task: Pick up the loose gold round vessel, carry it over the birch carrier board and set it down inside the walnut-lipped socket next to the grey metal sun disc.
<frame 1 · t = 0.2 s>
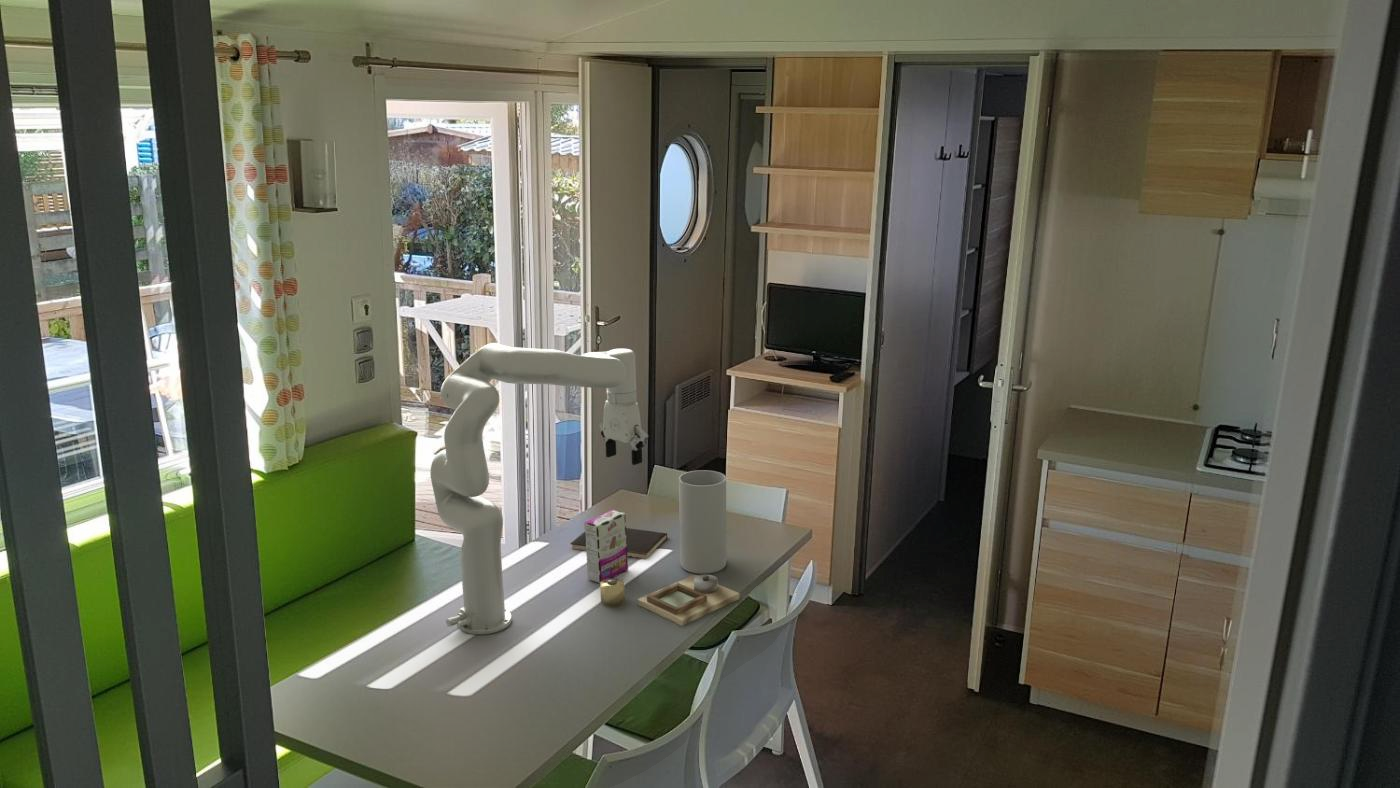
hand: (624, 459, 270), 31 cm above the table, fingers open, 9 cm apart
hardcover book: (619, 545, 295), on the table
carrier: (688, 601, 258), on the table
cylinder vase: (703, 565, 279), on the table
gold round vessel: (612, 601, 259), on the table
candy bar box: (607, 575, 274), on the table
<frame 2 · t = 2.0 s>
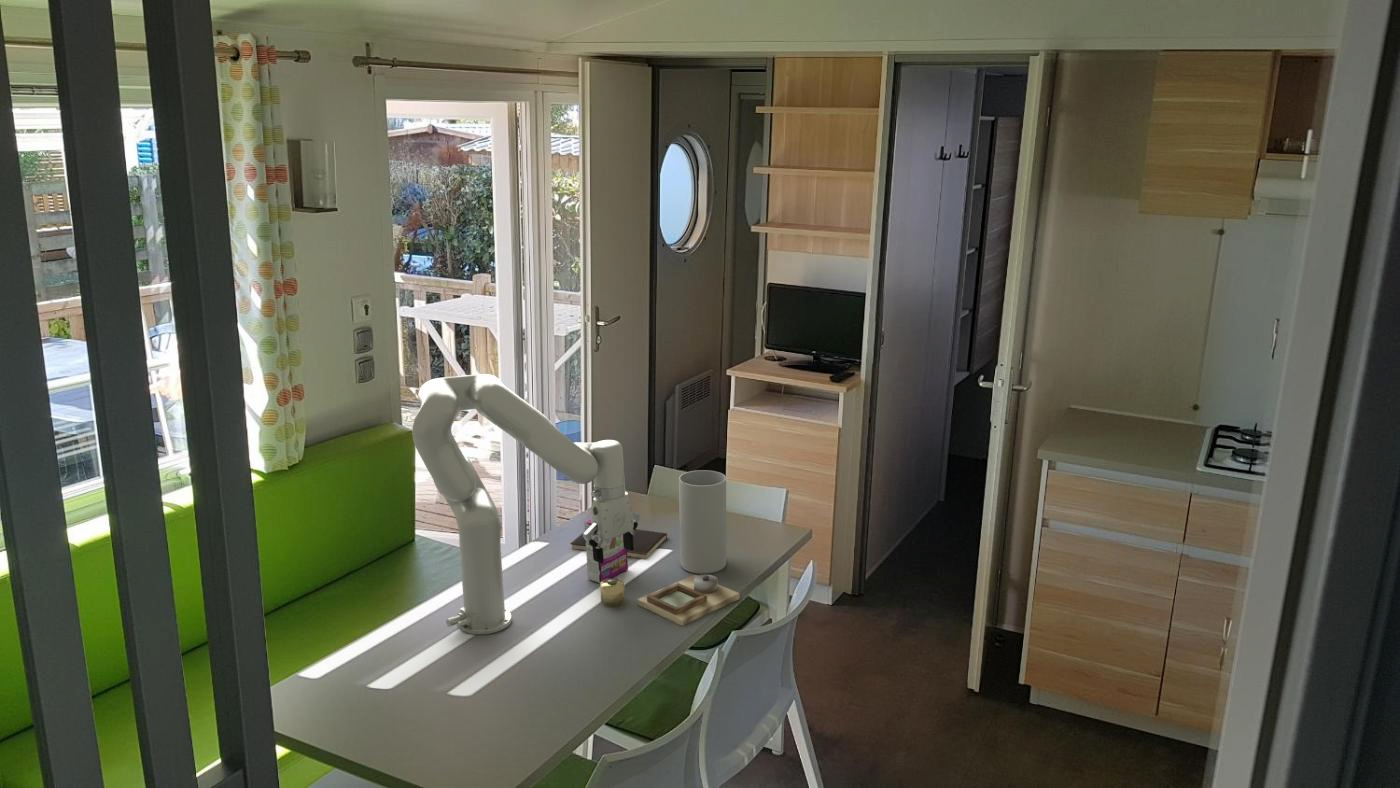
hand: (613, 555, 256), 12 cm above the table, fingers open, 9 cm apart
nothing on the table moved.
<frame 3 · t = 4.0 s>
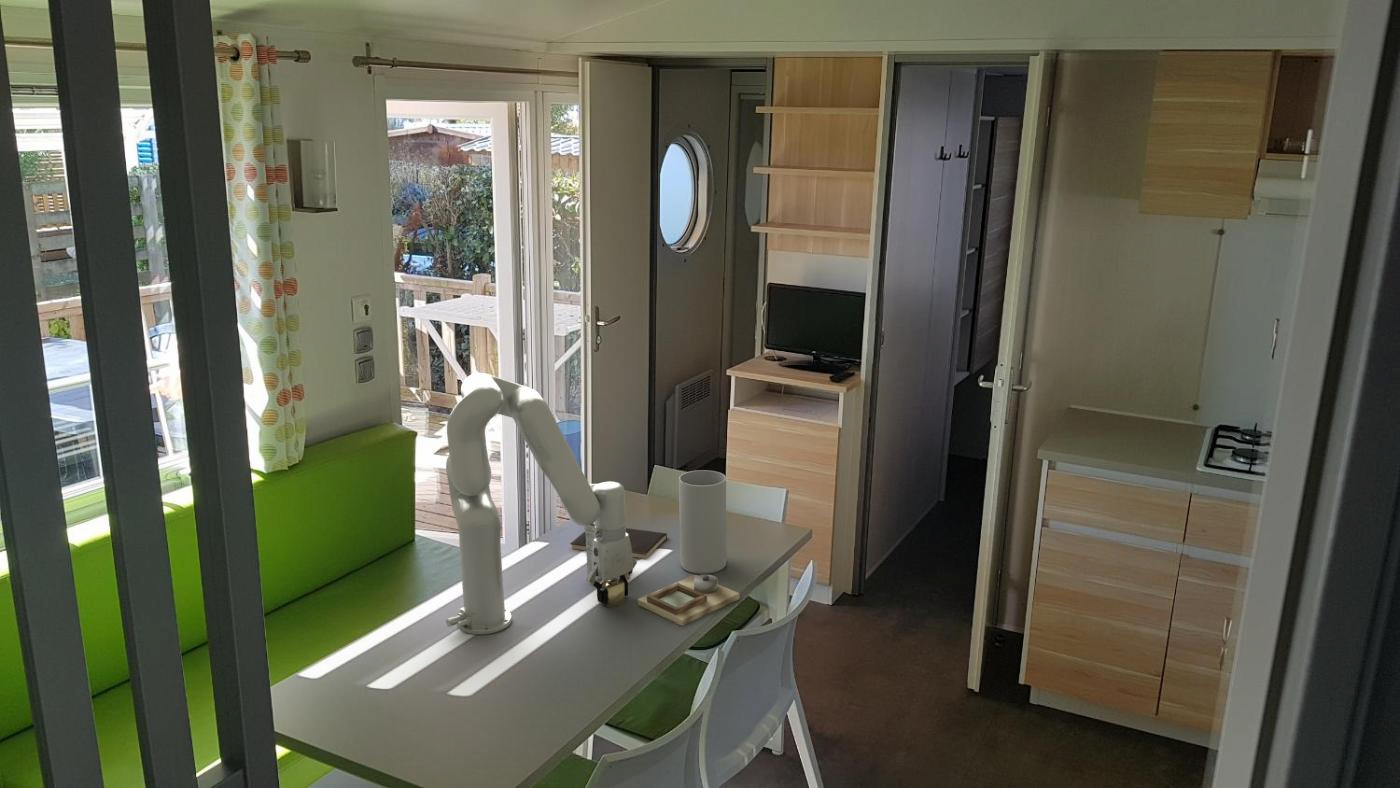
hand: (612, 598, 259), 1 cm above the table, fingers closed on gold round vessel, 6 cm apart
gold round vessel: (613, 601, 259), on the table, touching gripper
everything else where it was.
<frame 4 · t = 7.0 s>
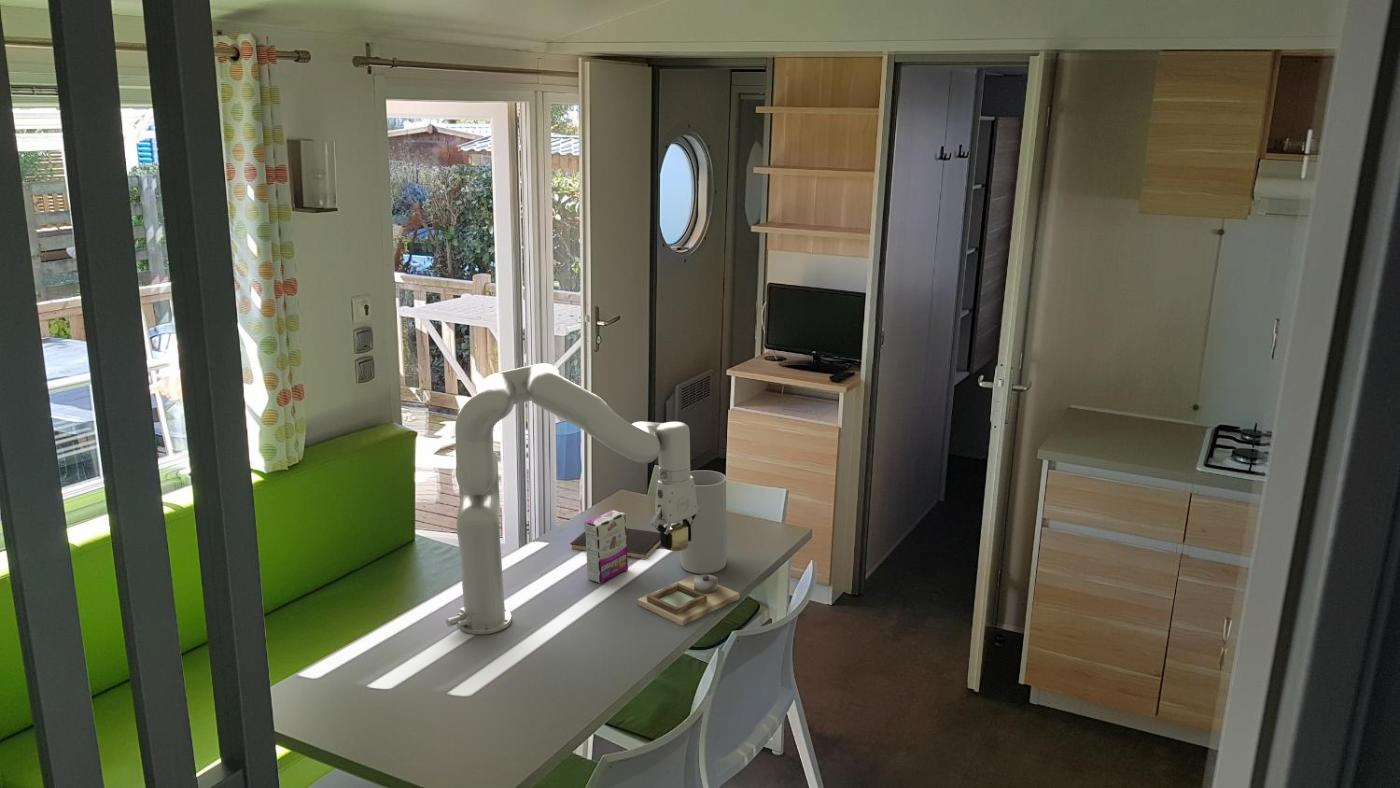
hand: (676, 542, 251), 17 cm above the table, fingers closed on gold round vessel, 6 cm apart
gold round vessel: (676, 546, 251), point 16 cm above the table, touching gripper
everything else where it was.
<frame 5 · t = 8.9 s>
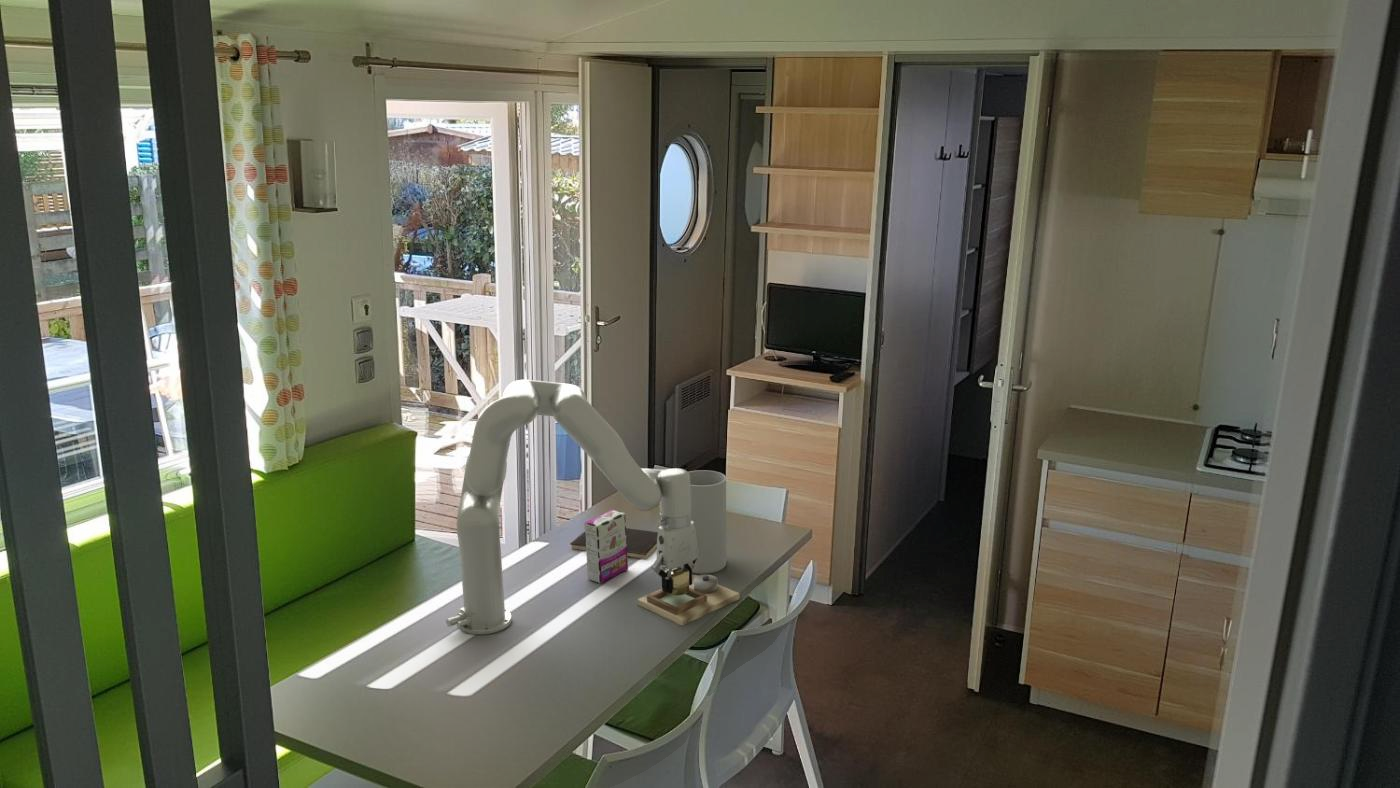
hand: (677, 587, 254), 5 cm above the table, fingers closed on gold round vessel, 6 cm apart
gold round vessel: (677, 590, 254), point 5 cm above the table, touching gripper
everything else where it was.
when the fingers open (4 cm above the table, at t = 10.2 s): gold round vessel drops 1 cm, resting on carrier.
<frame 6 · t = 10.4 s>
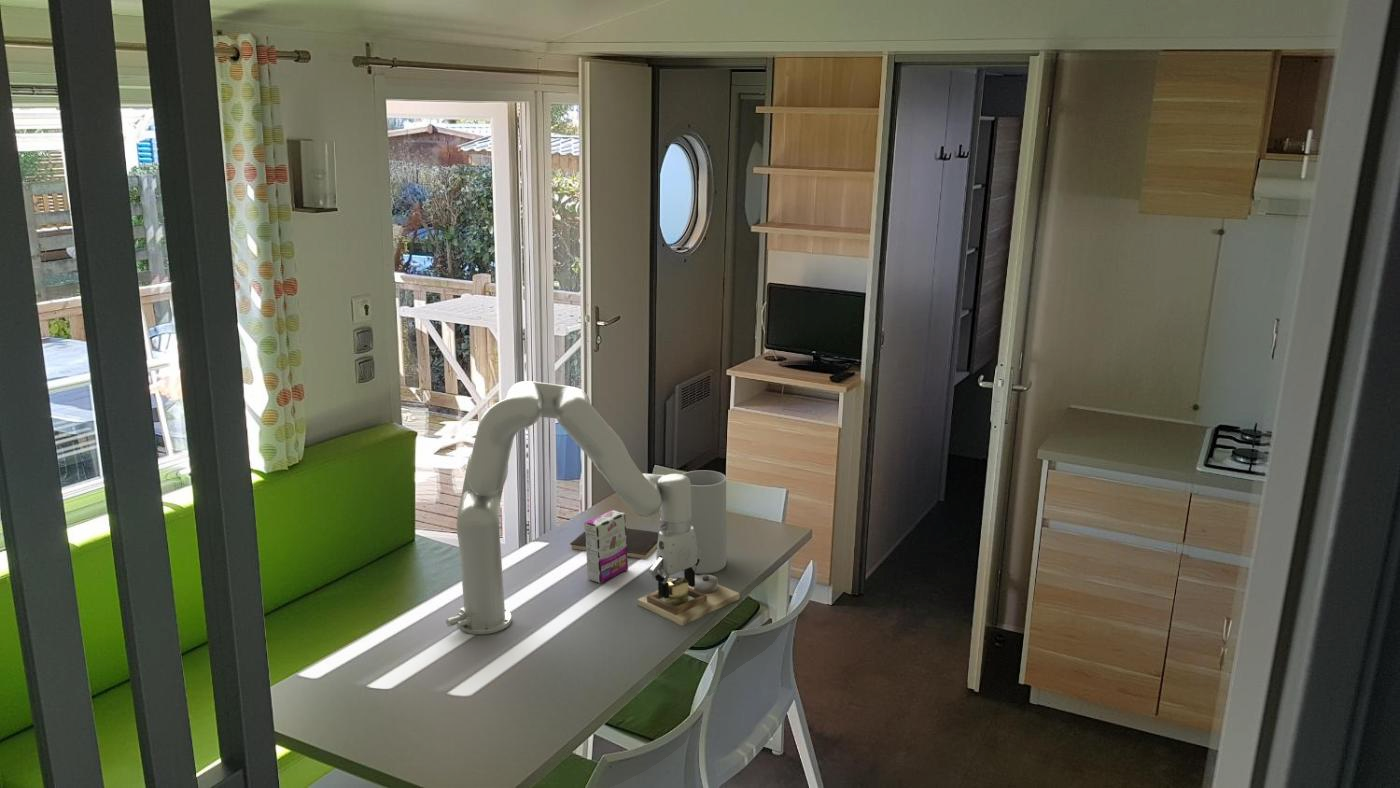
hand: (676, 590, 254), 4 cm above the table, fingers open, 8 cm apart
gold round vessel: (676, 600, 255), point 2 cm above the table, touching carrier
everything else where it was.
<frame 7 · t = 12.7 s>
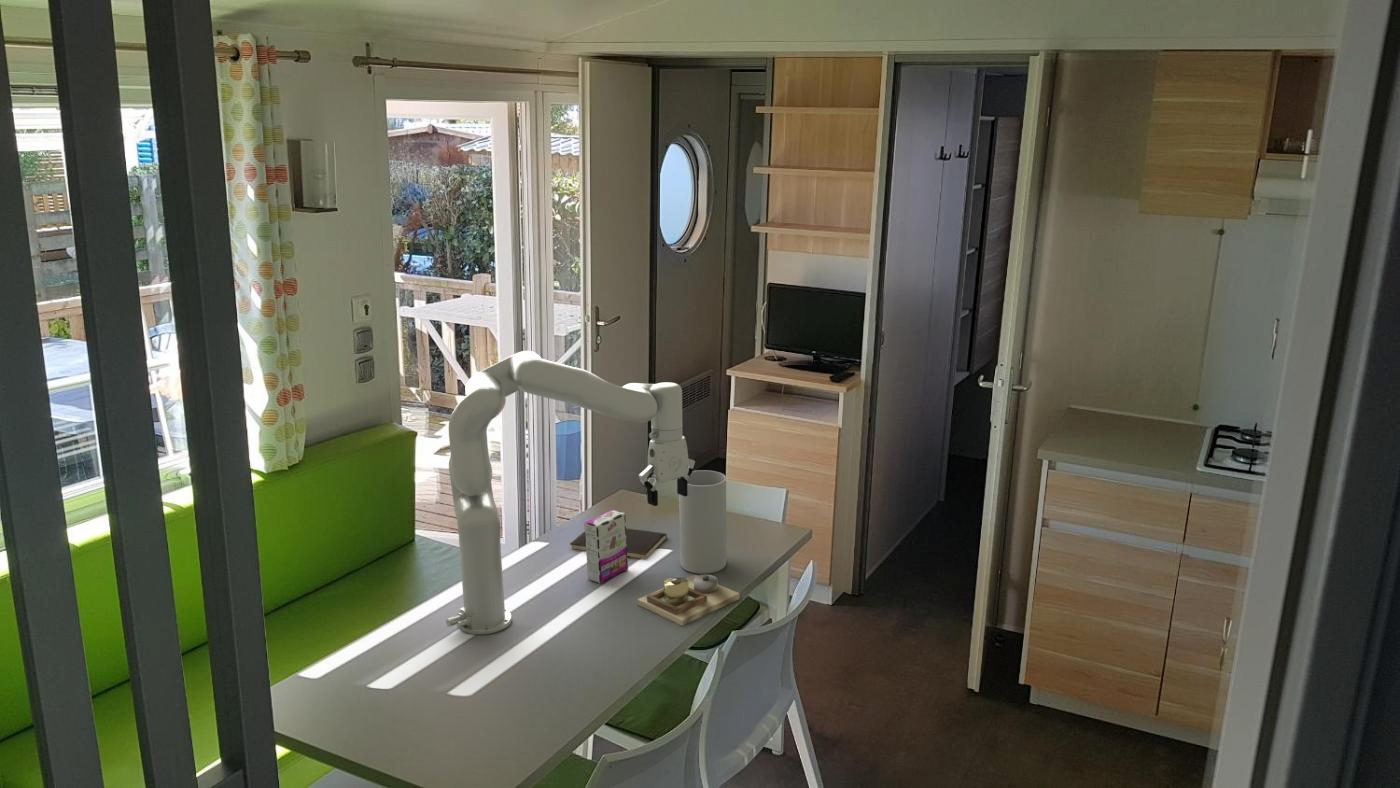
hand: (667, 499, 255), 26 cm above the table, fingers open, 9 cm apart
nothing on the table moved.
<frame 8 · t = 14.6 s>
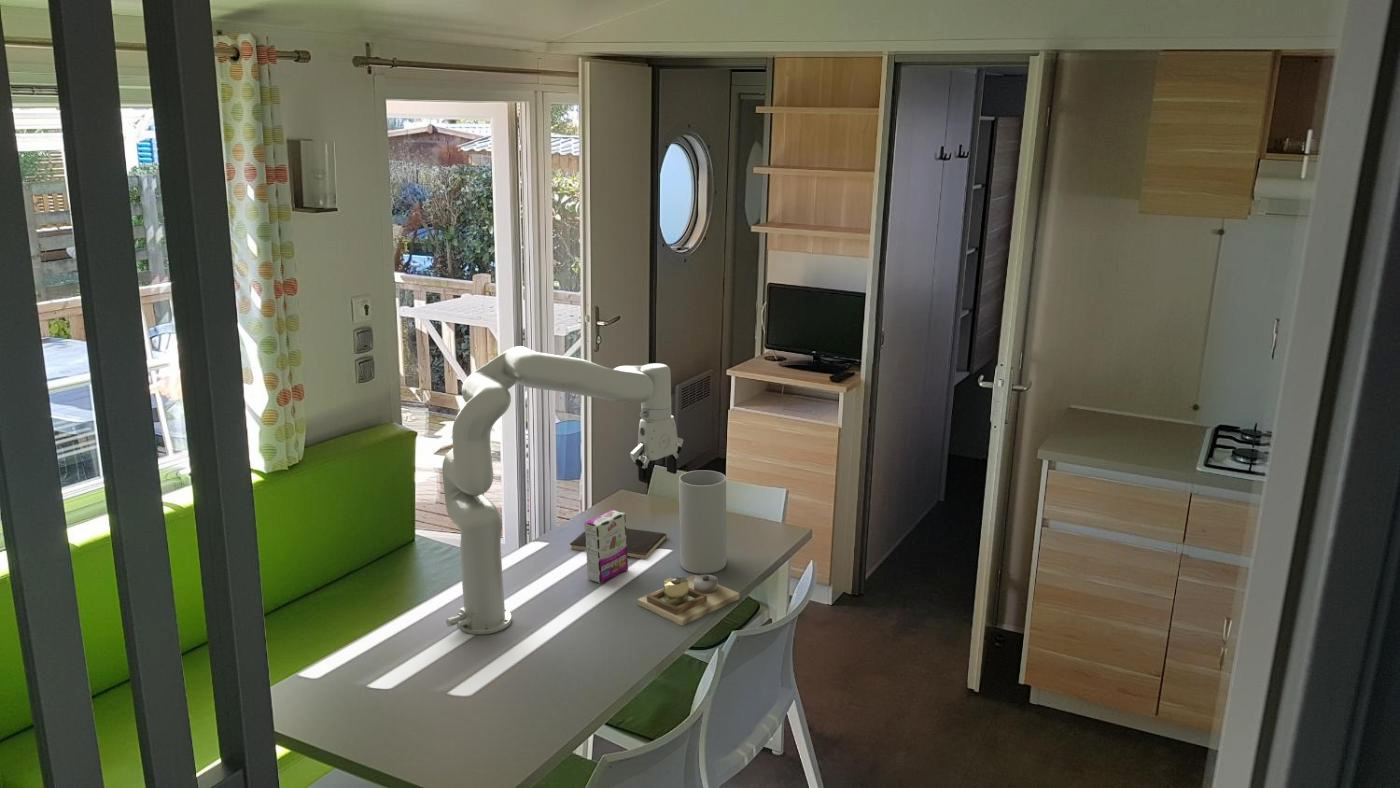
hand: (657, 477, 264), 28 cm above the table, fingers open, 9 cm apart
nothing on the table moved.
at the end: gold round vessel 0.1 cm from the target spot on the carrier, point 1.7 cm above the carrier's base; gold round vessel tilted 0°; the gripper is holding nothing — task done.
